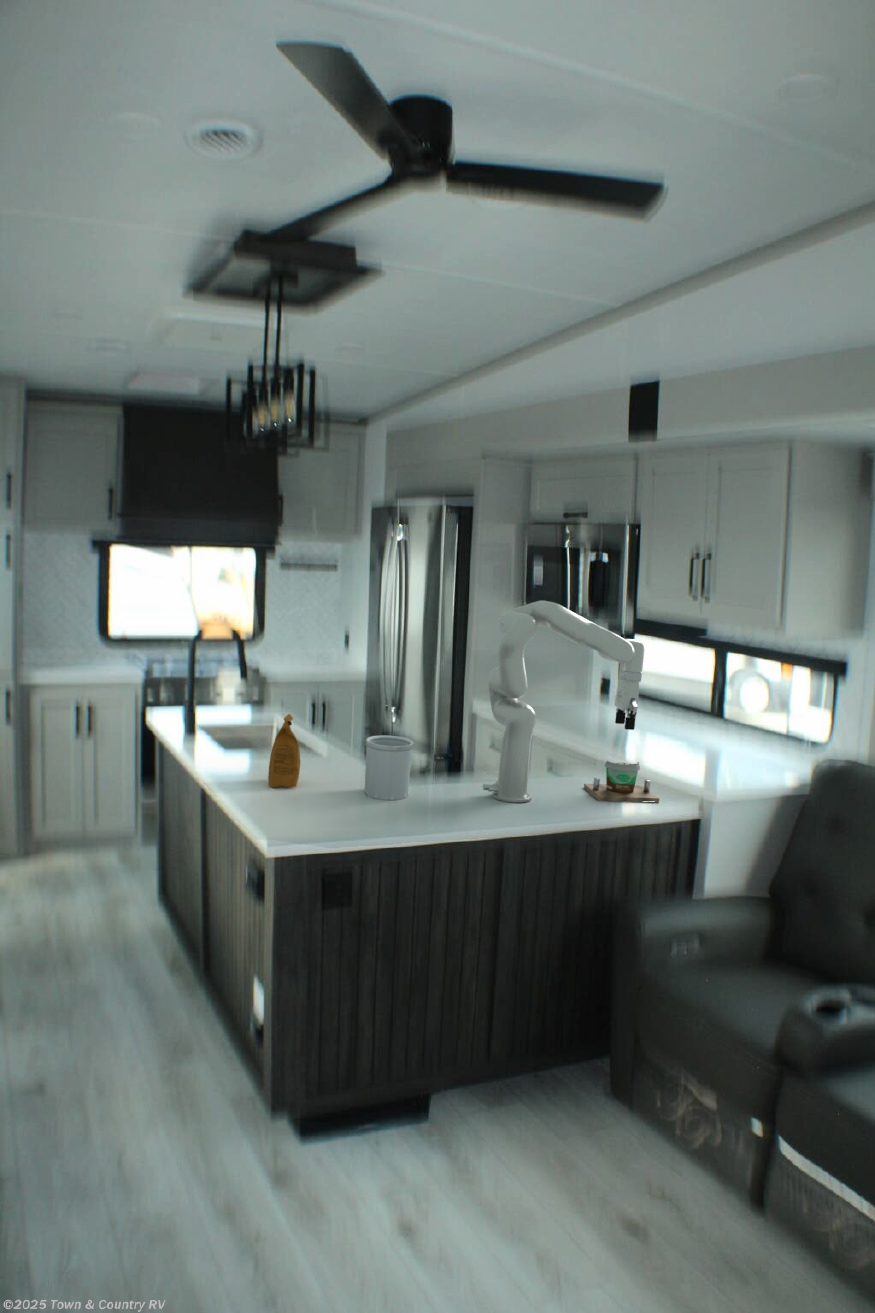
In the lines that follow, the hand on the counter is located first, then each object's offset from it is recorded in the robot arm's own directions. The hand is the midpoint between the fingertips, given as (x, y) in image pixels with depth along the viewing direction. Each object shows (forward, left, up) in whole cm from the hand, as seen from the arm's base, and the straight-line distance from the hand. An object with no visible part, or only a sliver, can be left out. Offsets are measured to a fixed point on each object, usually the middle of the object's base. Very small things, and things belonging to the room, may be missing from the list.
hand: (624, 726), depth 335 cm
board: (+1, -1, -24) cm, 24 cm away
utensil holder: (-80, -10, -24) cm, 84 cm away
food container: (+1, -2, -22) cm, 22 cm away
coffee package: (-112, -2, -24) cm, 115 cm away
